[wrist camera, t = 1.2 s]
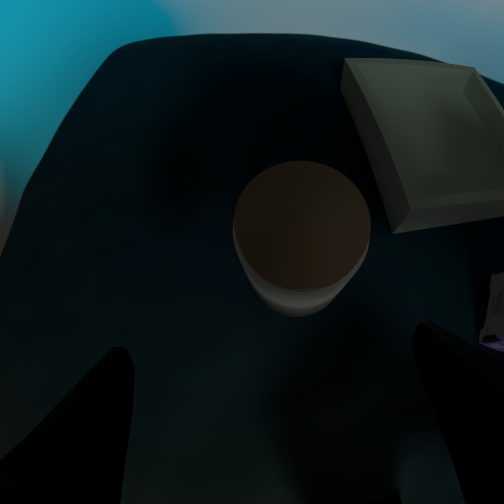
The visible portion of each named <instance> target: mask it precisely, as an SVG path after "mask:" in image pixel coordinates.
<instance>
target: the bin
mask: <svg viewBox="0 0 504 504" xmlns="http://www.w3.org/2000/svg"><path fill="white" fill-rule="evenodd" d="M340 91H341V93H342V95H343V97H344V100H345V102H346V104H347V106H348V109H349V111H350V114H351V116H352V118H353V121H354V123H355V126H356V128H357V131H358V133H359V136H360V138H361V141H362V143H363V146H364V149H365V151H366V154H367V157H368V159H369V162H370V165H371V168H372V171H373V174H374V176H375V179H376V182H377V185H378V188H379V191H380V195H381V198H382V201H383V204H384V207H385V210H386V214H387V217H388V220H389V224H390V227H391V231H392V234H395V233H401V232H408V231H414V230H421V229H427V228H433V227H440V226H446V225H453V224H459V223H465V222H472V221H478V220H485V219H491V218H497V217H503V216H504V110H503V108H502V107H501V105H500V103H499V102H498V100H497V99H496V97H495V96H494V94H493V93H492V91H491V90H490V89H489V87H488V86H487V84H486V83H485V81H484V80H483V79H482V77H481V76H480V75H479V73H478V72H477V71H476V70H475V68H473V67H467V66H461V65H454V64H447V63H438V62H429V61H418V60H404V59H383V58H345V59H344V66H343V73H342V80H341V87H340Z"/></svg>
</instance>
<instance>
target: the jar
mask: <svg viewBox="0 0 504 504" xmlns="http://www.w3.org/2000/svg"><path fill="white" fill-rule="evenodd" d="M370 229H371V222H370V214H369V210H368V207H367V204H366V201H365V199H364V197H363V196H362V194H361V192H360V191H359V189H358V188H357V187H356V186H355V185H354V183H353V182H352V181H351V180H350V179H348V178H347V177H346V176H345V175H343V174H342V173H340V172H339V171H337V170H335V169H333V168H331V167H329V166H326V165H324V164H320V163H316V162H310V161H290V162H285V163H281V164H278V165H275V166H272V167H270V168H268V169H266V170H264V171H263V172H261V173H260V174H258V175H257V176H256V177H255V178H254V179H253V180H252V181H251V182H250V183H249V184H248V185H247V186H246V188H245V189H244V190H243V192H242V194H241V195H240V197H239V200H238V202H237V205H236V209H235V215H234V223H233V239H234V244H235V248H236V251H237V254H238V256H239V259H240V261H241V263H242V265H243V268H244V270H245V272H246V274H247V277H248V279H249V281H250V283H251V285H252V288H253V290H254V292H255V294H256V295H257V297H258V298H259V300H260V301H261V302H262V303H263V304H264V305H265V306H267V307H268V308H269V309H271V310H272V311H274V312H276V313H279V314H281V315H285V316H290V317H302V316H308V315H311V314H314V313H316V312H318V311H320V310H322V309H323V308H325V307H326V306H327V305H328V304H329V303H330V302H331V301H332V300H333V299H334V298H335V297H336V295H337V294H338V293H339V292H340V291H341V289H342V288H343V287H344V286H345V285H346V284H347V282H348V281H349V280H350V279H351V277H352V276H353V275H354V274H355V273H356V271H357V270H358V269H359V267H360V266H361V264H362V262H363V260H364V258H365V255H366V253H367V250H368V245H369V237H370Z"/></svg>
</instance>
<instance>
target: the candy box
mask: <svg viewBox="0 0 504 504" xmlns="http://www.w3.org/2000/svg"><path fill="white" fill-rule="evenodd" d="M479 343H480V344H482V345H485V346H487V347H489V348H492V349H495V350H497V351H501V352H503V353H504V268H503V269H501V270H499V271H497V272H496V273H493V274H492V275H491V282H490V287H489V293H488V299H487V305H486V309H485V314H484V317H483V321H482V326H481V331H480V335H479Z"/></svg>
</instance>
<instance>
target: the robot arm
mask: <svg viewBox="0 0 504 504" xmlns="http://www.w3.org/2000/svg"><path fill="white" fill-rule="evenodd" d="M411 348H412V351H413V354H414V357H415V360H416V363H417V367H418V370H419V373H420V376H421V380H422V382H423V385H424V388H425V391H426V393H427V395H428V398H429V400H430V403H431V405H432V408H433V410H434V413H435V415H436V418H437V420H438V423H439V426H440V428H441V431H442V434H443V436H444V439H445V442H446V444H447V447H448V450H449V453H450V456H451V459H452V462H453V465H454V468H455V471H456V474H457V477H458V480H459V483H460V487H461V490H462V494H463V497H464V500H465V504H504V364H503V363H502V362H500V361H498V360H497V359H495V358H493V357H492V356H490V355H488V354H486V353H485V352H483V351H481V350H480V349H478V348H476V347H475V346H473V345H471V344H469V343H468V342H466V341H464V340H463V339H461V338H459V337H457V336H456V335H454V334H452V333H451V332H449V331H447V330H445V329H444V328H442V327H440V326H438V325H437V324H435V323H433V322H431V321H423V322H420V323H418V324H417V326H416V329H415V332H414V335H413V337H412V340H411ZM134 376H135V369H134V365H133V363H132V360H131V357H130V354H129V352H128V350H127V348H124V347H114V348H112V349H111V350H110V351H109V352H108V353H107V354H106V355H105V356H104V357H103V358H102V359H101V360H100V361H99V362H98V363H97V364H96V365H95V366H94V367H93V368H92V369H91V370H90V371H89V372H88V373H87V374H86V375H85V376H84V377H83V378H82V379H81V380H80V381H79V382H78V383H77V384H76V386H75V387H74V388H73V389H72V390H71V391H70V392H69V393H68V394H67V395H66V396H65V397H64V398H63V399H62V400H61V401H60V402H59V403H58V404H57V405H56V406H55V407H54V408H53V409H52V410H51V411H50V412H49V414H48V415H47V416H46V417H45V418H44V419H43V421H41V422H40V423H39V424H38V425H37V426H36V427H35V428H34V429H33V430H32V431H31V432H30V433H29V434H28V435H27V436H26V437H25V438H24V439H23V440H22V441H21V442H20V443H19V444H18V445H17V446H15V447H14V448H13V449H12V450H11V451H10V452H9V453H7V454H6V455H5V456H4V457H3V458H2V459H0V504H120V500H121V491H122V482H123V474H124V467H125V459H126V452H127V446H128V439H129V433H130V426H131V420H132V408H133V391H134ZM394 501H397V502H396V503H395V504H402V500H401V498H400V497H399V496H393V497H390V498H386V499H383V500H379V501H371V502H367V503H363V504H392V503H393V502H394Z"/></svg>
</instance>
